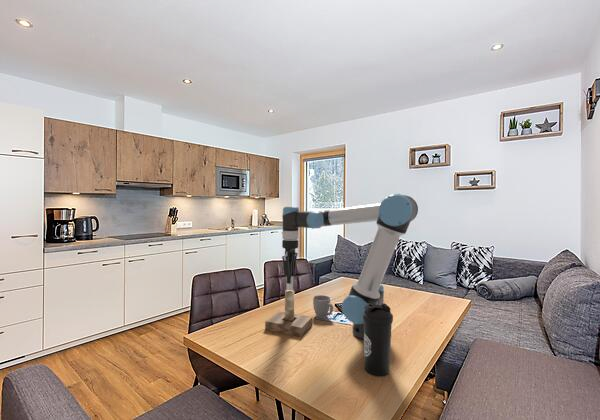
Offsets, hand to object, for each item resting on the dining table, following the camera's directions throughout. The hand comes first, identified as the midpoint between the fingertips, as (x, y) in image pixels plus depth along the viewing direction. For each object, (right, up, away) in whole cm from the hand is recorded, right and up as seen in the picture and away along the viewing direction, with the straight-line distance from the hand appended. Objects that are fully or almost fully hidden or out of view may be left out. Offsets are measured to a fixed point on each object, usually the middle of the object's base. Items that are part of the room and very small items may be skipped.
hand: (289, 289), depth 141 cm
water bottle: (+32, -19, -35) cm, 51 cm away
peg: (0, -17, 0) cm, 17 cm away
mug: (+17, -18, +14) cm, 28 cm away
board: (0, -18, 0) cm, 18 cm away
